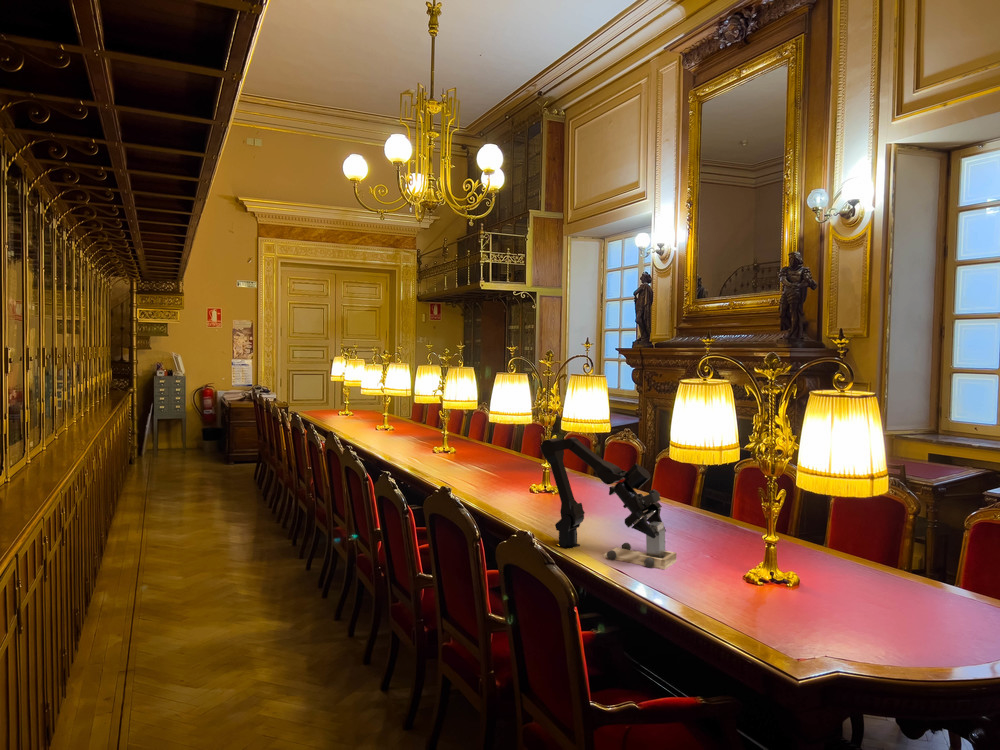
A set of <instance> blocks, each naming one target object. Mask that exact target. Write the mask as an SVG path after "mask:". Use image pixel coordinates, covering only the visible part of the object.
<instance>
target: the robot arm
mask: <svg viewBox="0 0 1000 750" xmlns="http://www.w3.org/2000/svg"><path fill="white" fill-rule="evenodd" d="M564 450H569V451H570V452H571V453H573V454H574V455H576V457H578V458H579V459H580V460H582V461H583V462H584V463H585V464H587V465H588V466H589V467H591V469H592V470H594V472H595V475H596V477H598V478H599V480H600V481H601V482H602V483H603V484H605V485H612V486H610V487H608V489H609V490H608V495H609V496H613V495H616V496H617V497H618V498H619V500H621V502H622V503H623V506H622V507H623V508H624V509H627V510H628V511H629V512H630V514H629V515H627V517H625V518H624V525H626V527H627V528H628V529H629V528H631V529H634V530H636V531H638V532H640V533H642V534H644V535H645V536H646V535H648V536H650V537H651V538H655V537H656V535H655V534H654V532H653V530H652V529H651V527H650V526H649V523H651V522H653V521H654V522H662V523H663V520H662V519H661V512H662V505H661V503H660V502H661V498H660V496H661V493H660V492H659V491H658V490H656V489H655V488H654V489H651V490H649V491H648V494H646V495H643V494H642V493H637V491H636V490H639V489H640V488H641V487H642V486H643V485H645V484H646V483H647V482H648V481H649V480H650V479H651V477H652V476H651V474H650V472H649V471H648V469H646V468H645V467H644V466H642V465H640V464H639V463H634V464H633V465H632V466H631V468H629V470H628V471H626V470H624V469H622V468H620V466H618V465H616V464H614V463H613V462H610V461H607V460H604V459H602V458H601V457H600V456H599V455H598V454H596V453H595V452H594V451H592V450H591V449H590V448H588V447H587V446H586V445H585V444H583V443H582V442H581V441H580V440H579V438H577V437H575V436H573V437H572V436H571V437H568V438H565V439H559V438H556V437H553V438H549V439H545V440H543V441H542V442H541V445H540V451H541V454H542V455H543V457H544V459H545V460H546V462H548V464H549V465H550V467H551V472H552V475H553V479H554V482H555V485H556V489H557V493H558V495H559V496H558V497H559V499H560V503H561V505H560V510H559V512H560V513H559V514H560V518H561V519H559V520H558V521H557V522H556V523H555V524H554V526H555V530H556V531H558V542H557V543H558V544H559V545H560V546H563V547H565V548H564V549H566V548H571V549H573V547H574V548H577V547H580V546H581V544H579V543H578V531H577V530H578V529H579V528H580V526H581V524H582V523H583V522H584V519H585V514H586V512H585V510H584V507H583V503H582V502H577V501H576V500H575V497H574V494H573V490H572V487H571V484H570V481H569V477H568V472H567V470H566V466H565V463H564V457H565V451H564ZM621 480H623V481H622V482H621ZM615 483H616V484H615ZM613 484H615V485H613ZM635 489H636V490H635ZM659 501H660V502H659ZM577 528H578V529H577ZM664 529H665V533H666V532H667V530H666V528H665V526H664ZM563 547H562V548H563Z"/></svg>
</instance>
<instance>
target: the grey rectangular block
mask: <svg viewBox="0 0 1000 750" xmlns="http://www.w3.org/2000/svg"><path fill="white" fill-rule="evenodd" d="M648 524H649V526H650V527H651V529H652V530H653V532H654V534H655V535H656V537H655V538H651V537H650V536H648V535H646V534H645V536H646V537H645V541H646V542H645V543H646V545H645V547H646V553H647V556H650V557H655V558H661V559H663V558H665V550H666V532H665V530H666V528H665V529H664V527H665V526H664V522H663V521H662V522H654V521H653V522H651V523H649V522H648Z"/></svg>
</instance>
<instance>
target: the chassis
mask: <svg viewBox="0 0 1000 750" xmlns="http://www.w3.org/2000/svg"><path fill="white" fill-rule="evenodd" d="M631 549H632V546H631V544H630V542H623V543H622V545H621V548H620V547H614V548H612V549H611V550H609V551H606V552H605V553H603V554H602V556H603V558H606V559H608V560H609V561H613V560H615V561H620V562H626V563H631V564H635V565H640V566H645V567H646V568H649V569H650V568H655V569H661V570H667V569H668V568H670V567H671V566H672V565H673V564H675V563H677V552H673V551H668V550H666V549H665V558H663V559H661V558H655V557H650V556H647V552H643V551H638V550H633V549H632V550H631Z"/></svg>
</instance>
